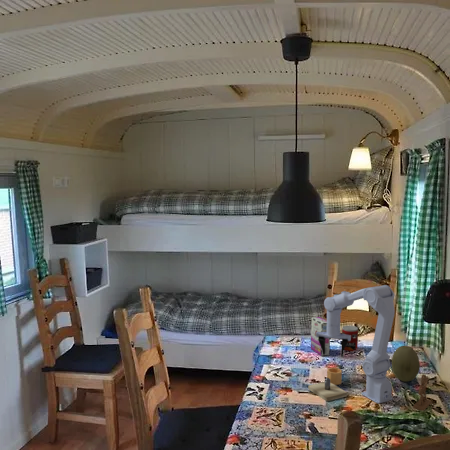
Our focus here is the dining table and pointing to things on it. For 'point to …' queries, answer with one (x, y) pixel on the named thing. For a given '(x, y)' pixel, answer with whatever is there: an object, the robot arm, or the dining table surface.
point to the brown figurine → (423, 401)
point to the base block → (327, 391)
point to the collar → (334, 375)
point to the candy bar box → (318, 326)
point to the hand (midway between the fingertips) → (333, 354)
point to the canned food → (353, 343)
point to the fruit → (405, 363)
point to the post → (327, 384)
